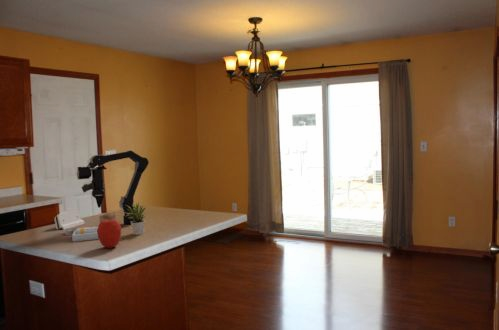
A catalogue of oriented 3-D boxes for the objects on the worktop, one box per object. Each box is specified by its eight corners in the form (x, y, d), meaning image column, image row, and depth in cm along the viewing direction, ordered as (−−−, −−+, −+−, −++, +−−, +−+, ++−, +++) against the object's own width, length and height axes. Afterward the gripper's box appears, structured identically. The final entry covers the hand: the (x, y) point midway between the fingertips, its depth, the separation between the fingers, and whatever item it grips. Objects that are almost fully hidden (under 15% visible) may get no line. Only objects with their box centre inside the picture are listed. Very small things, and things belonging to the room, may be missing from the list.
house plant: (121, 231, 216) (119, 200, 215) (148, 228, 221) (146, 198, 220) (124, 237, 203) (122, 204, 202) (153, 234, 208) (151, 202, 207)
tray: (110, 232, 215) (110, 227, 215) (110, 237, 204) (110, 231, 204) (74, 236, 209) (74, 230, 209) (72, 241, 199) (72, 235, 198)
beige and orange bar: (102, 233, 210) (102, 226, 210) (102, 235, 207) (102, 227, 206) (77, 236, 206) (76, 228, 206) (76, 237, 203) (76, 229, 202)
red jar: (93, 249, 183) (91, 218, 182) (108, 243, 192) (106, 214, 191) (112, 251, 179) (110, 219, 178) (127, 245, 188) (125, 215, 187)
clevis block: (116, 227, 227) (115, 212, 227) (116, 230, 219) (115, 214, 219) (66, 232, 219) (65, 216, 219) (65, 235, 211) (63, 219, 211)
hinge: (63, 229, 226) (57, 212, 227) (57, 232, 228) (51, 215, 228) (85, 223, 242) (79, 207, 242) (79, 225, 244) (73, 209, 244)
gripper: (83, 177, 233) (84, 204, 234) (80, 180, 215) (82, 210, 216) (103, 176, 236) (105, 203, 237) (103, 179, 218) (105, 208, 220)
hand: (99, 206), depth 227 cm, fingers open, 9 cm apart
